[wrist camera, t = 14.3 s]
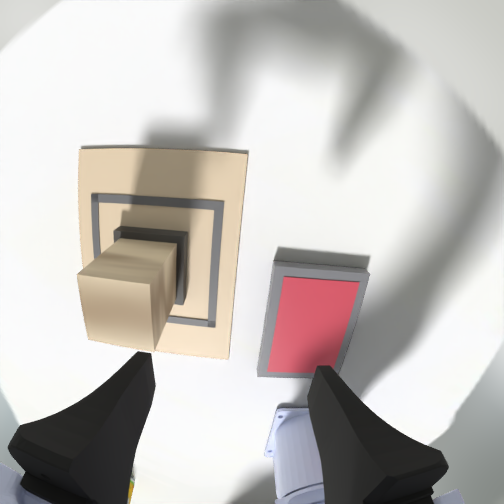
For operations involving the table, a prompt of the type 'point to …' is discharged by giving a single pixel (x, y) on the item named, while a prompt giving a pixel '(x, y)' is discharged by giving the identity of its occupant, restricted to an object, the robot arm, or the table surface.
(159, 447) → the table surface
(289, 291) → the ink pad
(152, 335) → the stamp
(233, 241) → the cardboard sheet
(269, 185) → the table surface
